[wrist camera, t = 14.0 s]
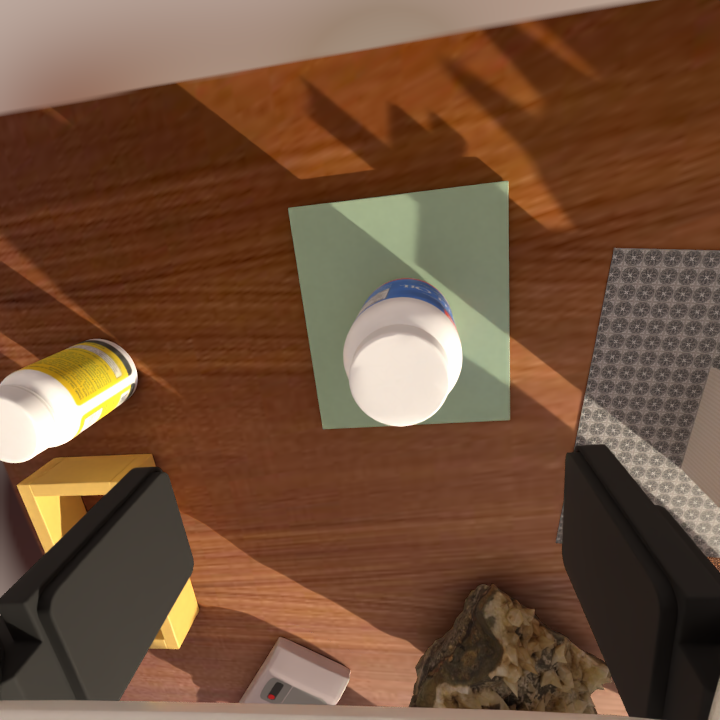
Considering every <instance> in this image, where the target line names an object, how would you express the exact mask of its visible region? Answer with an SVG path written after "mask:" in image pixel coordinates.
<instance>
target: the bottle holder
mask: <svg viewBox="0 0 720 720" xmlns="http://www.w3.org/2000/svg"><path fill="white" fill-rule="evenodd" d="M137 467H156V465H155V462H154V459H153V455H152V454H130V455H107V456H84V457H60V458H54V459H52V460H51V461H49V462H48V463H47V464H45V465H44V466H43V467H41V468H40V469H38V470H37V471H36V472H34V473H33V474H31V475H30V476H29V477H27V478H26V479H24V480H23V481H22V482H20V483H19V484H17V488H18V490H19V492H20V495H21V497H22V499H23V502H24V504H25V506H26V509H27V511H28V514H29V516H30V518H31V521H32V523H33V525H34V528H35V530H36V532H37V535H38V537H39V539H40V542H41V544H42V547H43V549H44V551H45V554H46V553H47V552H48V551H49V550H50V549H51V548H52V547H53V546H54V545H55V544H56V543H57V542H58V541H59V540H60V539H61V538H62V537H63V536H64V535H65V534H66V533H67V532H68V531H69V530H70V529H71V528H72V527H73V526H74V525H75V524H76V523H77V522H78V521H79V520H80V519H81V518H82V517H83V516H84V515H85V514H86V513H87V512H86V509H85V506H84V504H83V501H82V498H81V496H80V495H106V494H107V493H108V492H109V491H110V490H111V489H112V488H113V487H114V486H115V485H116V484H117V483H118V482H119V481H120V480H121V479H122V478H123V477H124V476H125V475H126V474H127V473H128V472H129V471H130V470H131V469H133V468H137ZM198 612H199V608H198V604H197V601H196V598H195V594H194V591H193V588H192V584H191V581H190V578H189V580H188V581H187V583H186V585H185V587H184V588H183V590H182V592H181V594H180V595H179V597H178V599H177V601H176V602H175V604H174V606H173V608H172V609H171V611H170V613H169V615H168V616H167V618H166V620H165V622H164V623H163V625H162V627H161V629H160V630H159V632H158V634H157V635H156V637H155V639H154V641H153V642H152V644H151V646H150V648H152V649H167V648H168V649H179V648H180V646H181V644H182V642H183V640H184V639H185V637H186V635H187V633H188V631H189V629H190V627H191V625H192V623H193V621H194V619H195V618H196V616H197V614H198Z"/></svg>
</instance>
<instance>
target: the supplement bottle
mask: <svg viewBox="0 0 720 720" xmlns="http://www.w3.org/2000/svg"><path fill="white" fill-rule="evenodd" d="M137 383H138V375H137V370H136V367H135V364H134V362H133V360H132V359H131V357H130V356H129V354H128V353H127V352H126V351H125V350H124V349H123V348H121V347H120V346H119V345H117V344H115V343H113V342H111V341H108V340H104V339H90V340H86V341H83V342H80V343H78V344H76V345H74V346H72V347H70V348H67V349H65V350H63V351H60V352H58V353H56V354H54V355H51V356H49V357H47V358H45V359H42V360H40V361H38V362H36V363H33V364H31V365H29V366H27V367H24V368H22V369H20V370H18V371H15V372H13V373H12V374H10V375H9V376H7V377H6V378H5V379H4V380H3V381H2V382H1V384H0V460H1V461H4V462H9V463H20V462H25V461H27V460H29V459H31V458H33V457H34V456H36V455H37V454H39V453H41V452H42V451H44V450H46V449H47V448H48V447H56V446H59V445H62V444H64V443H66V442H68V441H70V440H71V439H73V438H74V437H76V436H77V435H78V434H80V433H81V432H82V431H84V430H85V429H87V428H88V427H89V426H91V425H92V424H94V423H95V422H97V421H98V420H99V419H101V418H102V417H104V416H105V415H106V414H108V413H109V412H111V411H112V410H113V409H115V408H116V407H118V406H119V405H120V404H122V403H123V402H125V401H126V400H127V399H129V398H130V397H131V396H132V394H133V393H134V392H135V390H136V387H137Z"/></svg>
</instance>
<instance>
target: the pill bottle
mask: <svg viewBox="0 0 720 720" xmlns="http://www.w3.org/2000/svg"><path fill="white" fill-rule="evenodd" d="M343 361H344V367H345V371H346V374H347V377H348V379H349V386H350V390H351V393H352V396H353V398H354V400H355V402H356V403H357V405H358V406H359V407H360V408H361V409H362V411H363V412H364V413H366V414H367V415H368V416H369V417H371V418H373V419H374V420H376V421H378V422H381V423H383V424H387V425H392V426H409V425H414V424H417V423H420V422H422V421H425V420H426V419H428V418H430V417H431V416H432V415H433V414H435V413H436V412H437V411H438V410H439V409H440V407H441V406H442V405H443V403H444V401H445V399H446V397H447V395H448V393H449V392H450V391H451V390H452V389H453V387H454V385H455V384H456V382H457V380H458V377H459V375H460V371H461V367H462V347H461V342H460V338H459V335H458V332H457V329H456V325H455V322H454V318H453V315H452V311H451V308H450V306H449V304H448V302H447V300H446V299H445V297H444V296H443V295H442V293H441V292H440V291H439V290H438V289H436V288H435V287H434V286H432V285H431V284H429V283H427V282H425V281H422V280H419V279H414V278H400V279H395V280H392V281H389V282H387V283H385V284H383V285H381V286H380V287H378V288H377V289H376V290H375V291H374V292H373V293H372V294H371V295H370V296H369V297H368V299H367V300H366V302H365V303H364V305H363V307H362V309H361V310H360V312H359V314H358V316H357V317H356V319H355V321H354V322H353V324H352V326H351V328H350V330H349V332H348V335H347V337H346V340H345V344H344V350H343Z"/></svg>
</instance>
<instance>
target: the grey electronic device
mask: <svg viewBox="0 0 720 720" xmlns="http://www.w3.org/2000/svg"><path fill="white" fill-rule="evenodd" d="M311 633H312V632H311ZM330 642H331V641H330ZM349 651H350V650H349ZM350 672H351V671H350V669H348V668H347V667H345V666H343V665H341V664H339V663H336V662H334V661H332V660H330V659H328V658H326V657H324V656H322V655H320V654H318V653H315V652H313V651H311V650H309V649H307V648H305V647H303V646H301V645H298V644H296V643H294V642H292V641H290V640H287V639H285V638H283V637H279V639H278V640H277V642H276V644H275V645H274V647H273V649H272V650H271V652H270V653H269V655H268V657H267V658H266V660H265V661H264V663H263V665H262V666H261V668H260V669H259V671H258V673H257V674H256V676H255V677H254V679H253V681H252V682H251V684H250V685H249V687H248V689H247V690H246V692H245V693H244V695H243V697H242V698H241V700H240V701H239V703H258V704H302V705H336V704H337V702H338V701H339V699H340V698H341V696H342V694H343V692H344V690H345V688H346V686H347V684H348V682H349V679H350Z"/></svg>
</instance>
